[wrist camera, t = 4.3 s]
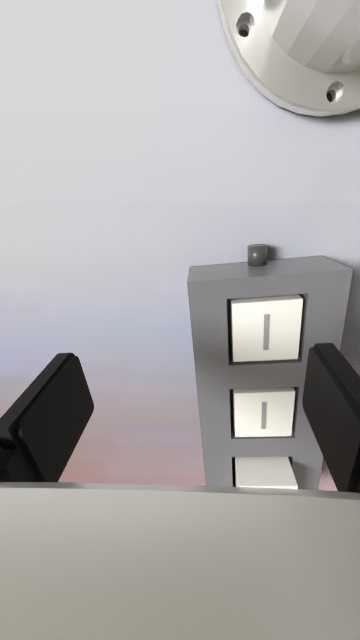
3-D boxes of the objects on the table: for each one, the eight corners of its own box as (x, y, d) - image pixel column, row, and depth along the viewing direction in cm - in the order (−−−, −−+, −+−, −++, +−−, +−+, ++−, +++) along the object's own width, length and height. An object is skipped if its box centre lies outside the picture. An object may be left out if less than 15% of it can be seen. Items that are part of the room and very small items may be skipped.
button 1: (235, 455, 21) (239, 486, 19) (287, 454, 21) (298, 486, 18) (235, 488, 23) (240, 521, 20) (284, 488, 22) (294, 522, 20)
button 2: (227, 290, 18) (232, 304, 16) (289, 286, 18) (303, 299, 15) (229, 343, 20) (233, 362, 17) (286, 340, 19) (298, 359, 17)
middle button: (230, 372, 20) (234, 394, 18) (284, 369, 20) (295, 392, 18) (231, 412, 22) (235, 437, 20) (281, 411, 22) (291, 436, 19)
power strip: (188, 249, 19) (185, 261, 15) (324, 237, 18) (356, 246, 14) (206, 463, 27) (207, 504, 23) (299, 462, 26) (315, 505, 22)
